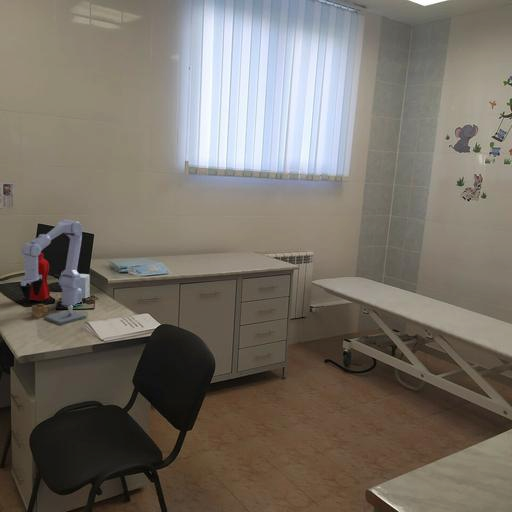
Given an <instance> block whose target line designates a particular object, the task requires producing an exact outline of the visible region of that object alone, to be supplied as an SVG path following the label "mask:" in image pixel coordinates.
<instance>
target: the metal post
mask: <svg viewBox="0 0 512 512" xmlns="http://www.w3.org/2000/svg"><path fill="white" fill-rule="evenodd" d="M67 309H68V310H67V311H68V316H73V311H74V310H73V309H74V307H73V306H72V305H69V306H68V308H67Z"/></svg>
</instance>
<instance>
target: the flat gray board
mask: <svg viewBox="0 0 512 512" xmlns="http://www.w3.org/2000/svg"><path fill="white" fill-rule="evenodd" d="M86 318H87V315H86V314H83V313H80V312H76V311H74V310H73V316H68V310H66V311H62V312H61V311H60V312H58V313H54V314H52V313H51V314H48V316H45V317H44V320H47V321H49V322H52V323H54V324H57V325H64V324H69V323H72V322H76V321H80V320H84V319H86Z"/></svg>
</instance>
